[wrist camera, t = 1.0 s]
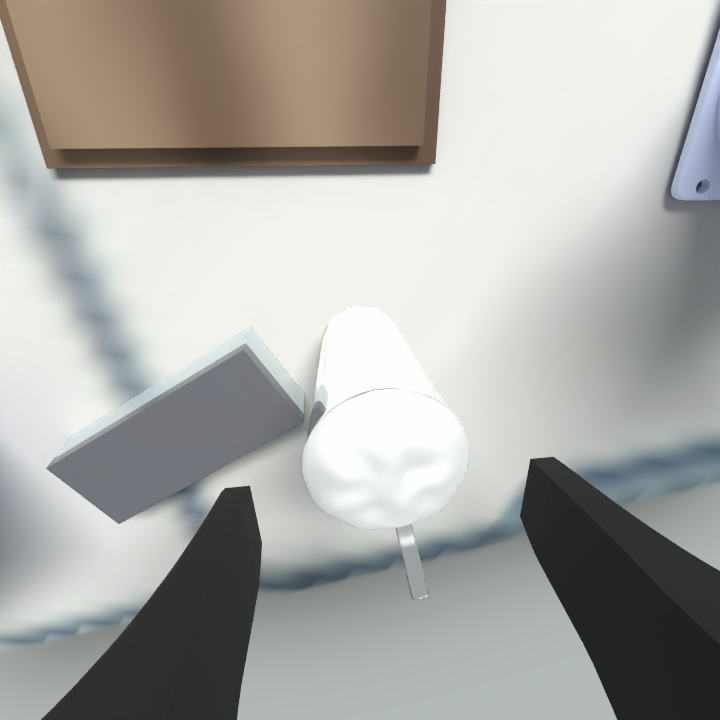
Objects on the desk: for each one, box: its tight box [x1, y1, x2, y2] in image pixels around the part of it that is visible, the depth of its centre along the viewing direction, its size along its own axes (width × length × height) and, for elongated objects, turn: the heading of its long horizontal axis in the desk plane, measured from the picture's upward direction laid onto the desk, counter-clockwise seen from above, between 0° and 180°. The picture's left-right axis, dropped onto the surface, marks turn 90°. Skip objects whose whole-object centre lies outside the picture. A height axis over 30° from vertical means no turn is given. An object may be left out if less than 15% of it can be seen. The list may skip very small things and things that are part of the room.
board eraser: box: [46, 326, 305, 524], centre depth 19 cm, size 10×4×3 cm, turn 120°
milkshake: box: [302, 306, 468, 600], centre depth 15 cm, size 4×5×10 cm
